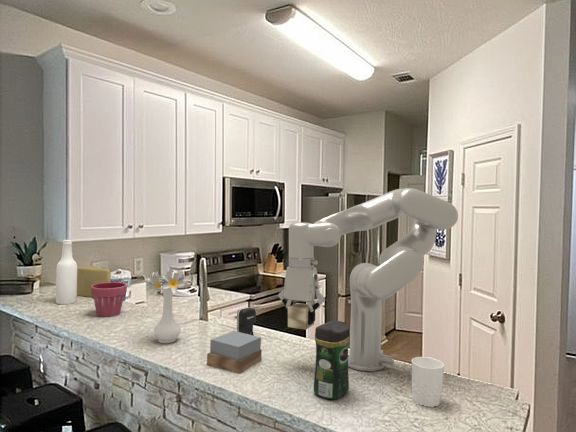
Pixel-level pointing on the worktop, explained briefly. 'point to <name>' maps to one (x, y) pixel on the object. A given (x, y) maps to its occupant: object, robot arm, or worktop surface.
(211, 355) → the tower base
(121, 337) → the worktop surface
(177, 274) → the flower vase
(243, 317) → the battery
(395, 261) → the robot arm
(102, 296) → the plant pot
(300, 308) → the birch cube
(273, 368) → the worktop surface
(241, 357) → the tower top
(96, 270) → the cheese
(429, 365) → the white cup
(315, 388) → the coffee jar
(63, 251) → the alcohol
